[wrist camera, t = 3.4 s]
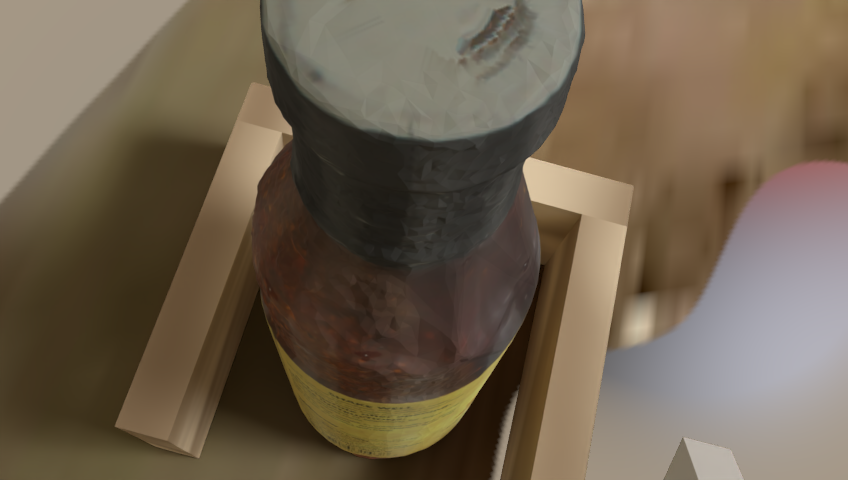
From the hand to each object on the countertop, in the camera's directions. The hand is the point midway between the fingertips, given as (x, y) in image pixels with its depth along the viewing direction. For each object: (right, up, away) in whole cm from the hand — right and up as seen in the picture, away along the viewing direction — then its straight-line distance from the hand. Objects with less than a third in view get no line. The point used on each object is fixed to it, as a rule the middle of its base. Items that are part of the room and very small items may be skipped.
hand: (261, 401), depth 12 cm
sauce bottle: (+1, -2, +15) cm, 16 cm away
